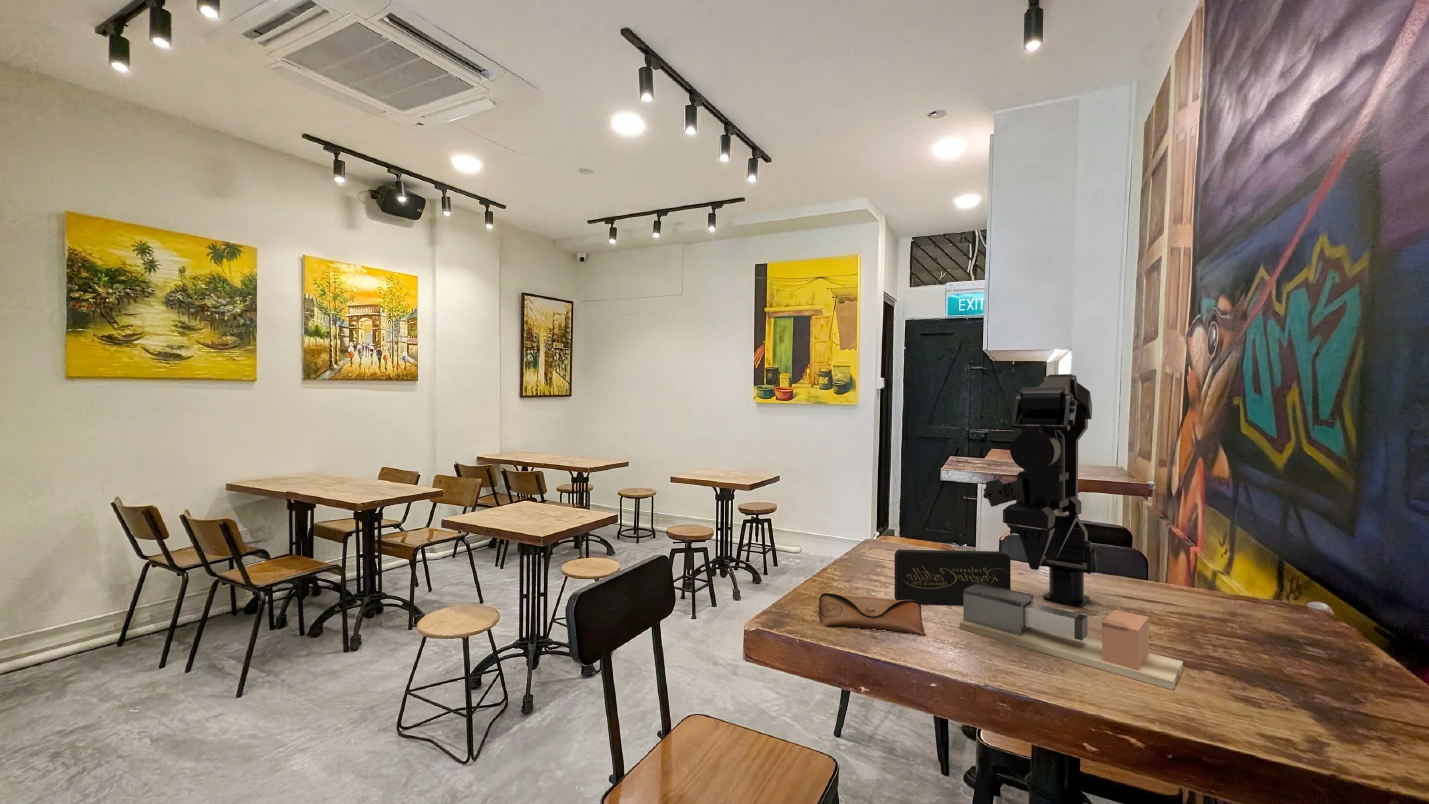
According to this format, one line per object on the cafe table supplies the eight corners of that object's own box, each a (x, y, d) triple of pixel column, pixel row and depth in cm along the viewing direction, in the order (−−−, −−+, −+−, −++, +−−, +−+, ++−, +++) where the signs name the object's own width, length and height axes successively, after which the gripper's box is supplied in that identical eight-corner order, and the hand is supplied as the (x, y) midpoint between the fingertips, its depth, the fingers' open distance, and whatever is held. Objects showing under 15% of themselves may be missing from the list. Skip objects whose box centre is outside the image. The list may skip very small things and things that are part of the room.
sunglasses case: (817, 627, 95) (818, 586, 98) (817, 634, 101) (818, 596, 104) (930, 636, 91) (926, 594, 95) (923, 643, 97) (921, 603, 101)
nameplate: (1005, 604, 107) (1005, 551, 107) (1010, 607, 105) (1010, 554, 105) (894, 601, 108) (894, 549, 108) (897, 604, 106) (897, 551, 107)
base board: (981, 615, 101) (981, 609, 101) (1183, 668, 81) (1182, 661, 81) (959, 628, 95) (959, 622, 95) (1172, 689, 74) (1172, 682, 74)
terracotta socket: (1114, 645, 86) (1114, 609, 86) (1148, 654, 83) (1148, 617, 83) (1102, 660, 81) (1102, 621, 81) (1138, 670, 78) (1138, 630, 78)
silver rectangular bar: (974, 606, 99) (974, 589, 99) (1087, 635, 86) (1087, 615, 86) (967, 610, 97) (967, 593, 97) (1082, 640, 84) (1082, 620, 84)
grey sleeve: (977, 611, 100) (977, 582, 100) (1033, 626, 93) (1033, 594, 93) (963, 620, 96) (963, 589, 96) (1020, 636, 89) (1020, 603, 89)
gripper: (1010, 458, 102) (1010, 544, 102) (968, 465, 89) (968, 564, 89) (1082, 463, 94) (1082, 557, 94) (1046, 472, 81) (1046, 580, 81)
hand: (1043, 563), depth 90 cm, fingers open, 9 cm apart
